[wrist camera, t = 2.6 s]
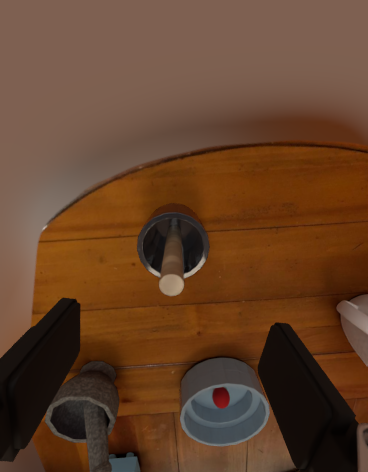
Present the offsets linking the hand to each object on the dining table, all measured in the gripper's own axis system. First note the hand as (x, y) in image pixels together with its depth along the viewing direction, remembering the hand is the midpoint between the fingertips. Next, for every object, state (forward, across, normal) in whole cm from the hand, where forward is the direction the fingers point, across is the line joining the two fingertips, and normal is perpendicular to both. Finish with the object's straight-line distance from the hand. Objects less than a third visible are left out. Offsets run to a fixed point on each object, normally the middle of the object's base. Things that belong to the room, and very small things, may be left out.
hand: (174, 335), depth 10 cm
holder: (+19, +1, 0) cm, 19 cm away
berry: (+17, -12, +28) cm, 35 cm away
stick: (+19, 0, 0) cm, 19 cm away
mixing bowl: (+19, -12, +28) cm, 36 cm away
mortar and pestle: (+19, +10, +28) cm, 35 cm away
